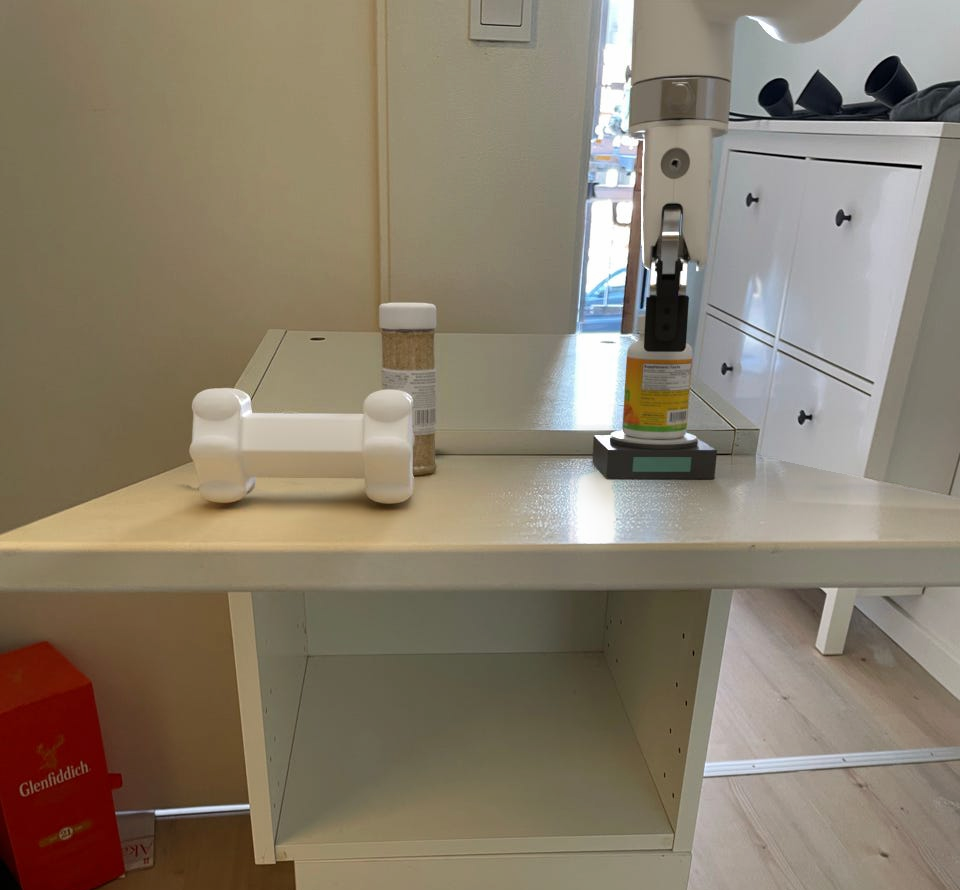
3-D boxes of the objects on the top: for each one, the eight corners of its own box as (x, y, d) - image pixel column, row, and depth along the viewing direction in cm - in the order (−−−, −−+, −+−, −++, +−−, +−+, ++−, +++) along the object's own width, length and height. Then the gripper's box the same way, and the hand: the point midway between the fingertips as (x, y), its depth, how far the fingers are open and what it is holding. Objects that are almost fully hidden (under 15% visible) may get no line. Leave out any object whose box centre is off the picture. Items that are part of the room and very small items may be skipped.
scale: (691, 462, 88) (694, 429, 87) (714, 479, 81) (718, 442, 80) (592, 462, 87) (594, 428, 86) (606, 479, 80) (608, 442, 79)
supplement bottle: (624, 429, 86) (631, 313, 83) (686, 432, 85) (696, 314, 82) (619, 438, 81) (627, 315, 78) (685, 441, 80) (696, 316, 77)
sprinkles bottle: (420, 465, 85) (419, 302, 80) (446, 473, 81) (446, 303, 77) (373, 469, 83) (368, 302, 78) (398, 478, 79) (395, 303, 75)
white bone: (191, 515, 67) (179, 392, 64) (219, 489, 75) (210, 379, 72) (411, 516, 67) (410, 394, 64) (415, 490, 75) (414, 381, 72)
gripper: (735, 91, 66) (715, 355, 72) (724, 129, 82) (709, 342, 88) (622, 95, 67) (612, 354, 73) (634, 132, 83) (625, 341, 89)
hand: (665, 347), depth 80 cm, fingers open, 9 cm apart
